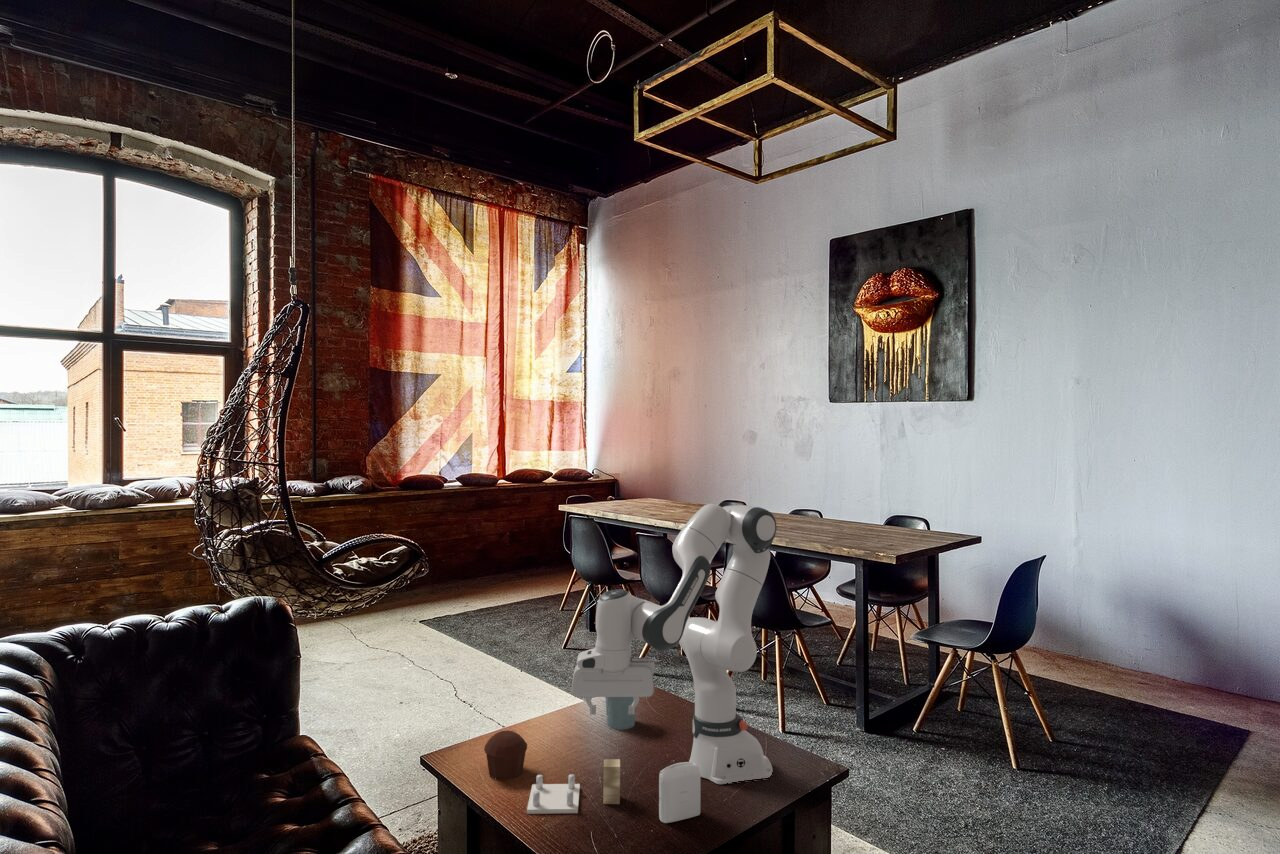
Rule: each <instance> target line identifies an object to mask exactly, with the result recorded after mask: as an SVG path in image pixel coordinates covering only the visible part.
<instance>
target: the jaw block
mask: <svg viewBox="0 0 1280 854" xmlns="http://www.w3.org/2000/svg"><path fill="white" fill-rule="evenodd" d="M602 792H603V795H602V798H603V801H602V804H603V805H620V802H621V759H620V758H618V759H617V758H615V759H613V758H610V759H608V758H607V759H606V758H605V759H603V791H602Z"/></svg>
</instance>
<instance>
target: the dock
mask: <svg viewBox="0 0 1280 854" xmlns="http://www.w3.org/2000/svg"><path fill="white" fill-rule="evenodd" d="M535 776H536V777H535V779H536V781H535V782H536V783H533V784H532V785H531V789H530V793H529V799H528V802H527V806H526V814H527V815H535V814H536V815H539V814H540V815H541V814H544V815H545V814H554V815H555V814H579V803H580V802H579V801H580V791H581V784H580V783H576V782H575V780H576V774H573V773H571V774H568V781H567V782H568V783H544V779H543V778H544V775H542V774H537V775H535Z"/></svg>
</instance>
